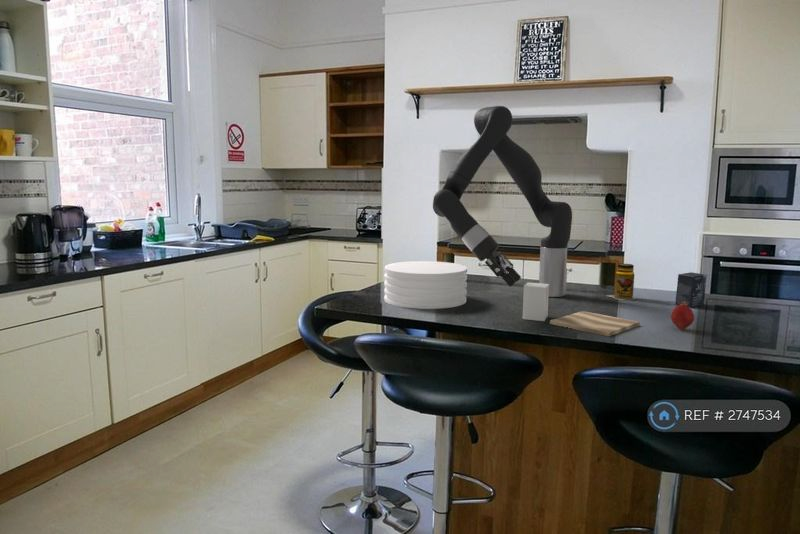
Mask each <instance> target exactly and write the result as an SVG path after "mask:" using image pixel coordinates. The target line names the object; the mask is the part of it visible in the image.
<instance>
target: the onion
mask: <svg viewBox="0 0 800 534" xmlns="http://www.w3.org/2000/svg"><path fill="white" fill-rule="evenodd" d="M694 314H695V313H694V312H693V310H692V308H689V307H688V306H687V305H686V302H682V304H680V305H676V306H675V307H674V308H673V309H672V311H671V313H670V320H671V322H672V323H673V325H674V326H675V327H676V328H678V329H679V330H681V331H683V330H685V329H687V328H688V327H690V326H691V325H692V324H693V323H694V320H695V315H694Z"/></svg>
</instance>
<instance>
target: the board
mask: <svg viewBox="0 0 800 534" xmlns="http://www.w3.org/2000/svg"><path fill="white" fill-rule="evenodd" d="M640 323H641V322H640V321H637V320H633V319H632V320H631V319H626V318H621V317H616V316H610V315H605V314H601V313H600V314H599V313H594V312H590V311H584V310H581V311H578V312H574V313H572V314H567V315H564V316H560V317H557V318H553V319H550V320H549V325H553V326H559V327H562V326H563V328H567V327H568V329H571V328H572V330H577V331H581V332H582V331H583V332H585V333H590V334H594V335H595V334H596V335H600V336H604V337H612V336H614V335H617V334H620V333H622V332H625V331H628V330H630V329H633V328H636V327H638V326H640V325H641V324H640Z"/></svg>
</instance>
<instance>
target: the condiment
mask: <svg viewBox="0 0 800 534" xmlns="http://www.w3.org/2000/svg"><path fill="white" fill-rule="evenodd" d="M616 270H617V271H616V272H615V281H614V282H615V284H614V294H612V295H611V294H610V295H609V294H608V295H606V297H608V298H609V297H610V298H612V299H616V300H619V301H630V300H631V301H632V300H637V299H639V298H638V297H635V296H634V287H635V272H634V264H633V263H618V264H617V269H616Z"/></svg>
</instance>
